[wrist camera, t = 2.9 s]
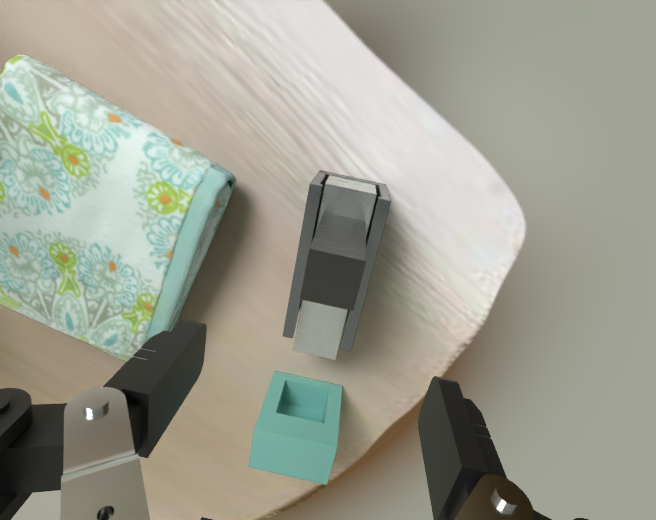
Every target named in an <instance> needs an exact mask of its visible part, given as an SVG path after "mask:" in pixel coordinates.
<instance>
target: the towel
mask: <svg viewBox="0 0 656 520" xmlns="http://www.w3.org/2000/svg"><path fill="white" fill-rule="evenodd" d="M235 182H236V179H235V177H234V175H233V174H232V173H230V172H228V171H226V170H225V169H223V168H221V167H220V166H219V165H218V164H217V163H215V162H213V161H212V160H210V159H209V158H207V157H206V156H205V155H203V154H201V153H199V152H197V151H196V150H194V149H192V148H191V147H189V146H187V145H185V144H183V143H182V142H180V141H178V140H177V139H175V138H173V137H171V136H170V135H168V134H166V133H164V132H163V131H161V130H159V129H158V128H156V127H154V126H152V125H151V124H149V123H147V122H145V121H143V120H141V119H139V118H138V117H136V116H134V115H133V114H131V113H129V112H127V111H125V110H124V109H122V108H120V107H118V106H117V105H115V104H113V103H111V102H110V101H108V100H106V99H104V98H102V97H101V96H99V95H97V94H96V93H94V92H92V91H91V90H89V89H87V88H86V87H84V86H82V85H80V84H79V83H77V82H75V81H73V80H72V79H70V78H69V77H67V76H65V75H64V74H62V73H61V72H59V71H57V70H55V69H54V68H52V67H50V66H48V65H46V64H45V63H42V62H40V61H38V60H36V59H34V58H32V57H29V56H27V55H17V56H15V57H13V58H11V59H9V60H8V61H7V62H6V64H5V67H4V70H3V72H2V73H1V74H0V304H2V305H4V306H6V307H8V308H10V309H12V310H14V311H16V312H18V313H21V314H23V315H25V316H27V317H30V318H32V319H34V320H36V321H39V322H41V323H43V324H45V325H47V326H49V327H51V328H53V329H55V330H58V331H60V332H62V333H65V334H67V335H69V336H71V337H74V338H76V339H79V340H81V341H83V342H85V343H87V344H89V345H91V346H94V347H95V348H97V349H99V350H101V351H104V352H106V353H108V354H110V355H112V356H115V357H116V358H118V359H121V360H123V361H126V362H127V361H128V360H129V359H130V358H131V357H133V355H134V354H135V353H136V352H137V351H138V350H139V349H141V347H142V346H143V345H144V344H145V343H146V341H147V340H148V339H149V338H150V337H152V336H154V335H156V334H158V333H160V332H162V331H164V330H165V331H170V332H172V330H173V328H174V326H175V324H176V322H177V320H178V318H179V315H180V313H181V310H182V308H183V306H184V303H185V301H186V299H187V296H188V294H189V291H190V289H191V287H192V284H193V282H194V280H195V278H196V276H197V274H198V272H199V269H200V267H201V265H202V262H203V260H204V258H205V256H206V254H207V252H208V249H209V247H210V245H211V242H212V240H213V237H214V235H215V233H216V231H217V229H218V226H219V224H220V221H221V219H222V217H223V214H224V212H225V209H226V207H227V204H228V202H229V200H230V197H231V194H232V190H233V187H234V185H235Z"/></svg>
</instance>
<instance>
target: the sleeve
mask: <svg viewBox="0 0 656 520" xmlns="http://www.w3.org/2000/svg"><path fill="white" fill-rule="evenodd" d="M329 175H331V176H336V177H340V178H345V179H350V180H354V181H359V182H363V183H368V184H373V185H375V187H376V193H377V195H376V199H375V203H374V207H373V211H372V215H371V219H370V223H369V227H368V231H367V235H366V264H365V268H364V272H363V276H362V280H361V284H360V288H359V292H358V296H357V299H356V303H355V307H354V311H351V310H348V312H347V316H346V324H345V331H344V335H343V339H342V343H341V349H343V350H348V351H351V349H352V345H353V341H354V338H355V334H356V330H357V326H358V323H359V319H360V315H361V311H362V308H363V304H364V300H365V296H366V293H367V289H368V285H369V281H370V278H371V274H372V270H373V266H374V263H375V259H376V255H377V251H378V247H379V244H380V240H381V236H382V232H383V229H384V225H385V221H386V217H387V214H388V210H389V206H390V202H391V200H390V197H389V194H388V190H387V187H386V184H381V183H376V182H372V181H367V180H363V179H358V178H353V177H349V176H344V175H339V174H335V173H330V172H325V171H321V170H320V171H319V172H318V174H317V175H316V176H315V178H314V179H313V180H312V182H311V183H310V186H309V192H308V197H307V203H306V208H305V214H304V220H303V225H302V231H301V236H300V242H299V248H298V253H297V259H296V264H295V270H294V276H293V281H292V287H291V292H290V298H289V303H288V309H287V315H286V320H285V326H284V331H283V336H284V337H289V338H293V336H294V332H295V327H296V322H297V316H298V312H299V309H300V306H301V305H302V300H301V299H300V295H301V290H302V284H303V279H304V274H305V269H306V263H307V258H308V253H309V248H310V246H311V243H312V241H313V238H314V236H315V233H316V228H317V223H318V218H319V212H320V207H321V202H322V197H323V192H324V187H325V183H326V181H327V179H328V177H329Z"/></svg>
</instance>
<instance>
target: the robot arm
mask: <svg viewBox="0 0 656 520" xmlns="http://www.w3.org/2000/svg"><path fill="white" fill-rule="evenodd" d="M206 330H207V328H206V324H202V323H198V322H193V321H189V320H183V321H181V323H180V324H179V325H178V326H177V327H176V328H175V329H174V330H173V332H170V331H165V330H164V331H162V332H160V333H158V334H156V335H154V336H152V337H150V338H149V339H148V340H147V341H146V343H145V344H144V345H143V346H142V347H141V349H139V350H138V351H137V352H136V353H135V354H134V355H133V357H131V358H130V359H129V360H128V361H127V362H126V363H125V364H124V365H123V366H122V367H121V369H120V370H119V371H118V372H117V373H116V374H115V375H114V376H113V377H112V378H111V379H110V380H109V381H108V382H107V383H106V384H105V385H104V386H103V387H98V388H93V389H89V390H86V391H84V392H82V393H80V394H78V395H76V396H75V397H74V398H72V399H71V400H70V401H69V402H68V403H64V404H40V405H32V403H31V397H30V395H29V394H28V393H27V392H26V391H24V390H21V389H16V388H4V389H0V520H11V519H12V517H13V516H14V515H15V514H16V512H17V511H18V510H19V508H20V507H21V506H22V505H23V504H24V502H25V501H26V500H27V499H28V497H29V496H30V495H31V494H32V493H33V492H43V491H53V490H61V517H60V520H150V517H149V511H148V505H147V500H146V494H145V488H144V482H143V477H142V471H141V465H140V460H139V456H140V457H145V458H148V457H149V455H150V453H151V452H152V450H153V449H154V447H155V446H156V444H157V442H158V441H159V439H160V438H161V436H162V434H163V433H164V431H165V430H166V428H167V427H168V425H169V423H170V422H171V420H172V419H173V417H174V415H175V414H176V412H177V411H178V409H179V407H180V406H181V404H182V403H183V401H184V400H185V398H186V396H187V395H188V393H189V392H190V390H191V388H192V387H193V385H194V384H195V382H196V381H197V379H198V377H199V375H200V373H201V370H202V367H203V362H204V353H205V341H206ZM418 429H419V435H420V441H421V447H422V452H423V458H424V464H425V471H426V476H427V482H428V488H429V494H430V500H431V505H432V512H433V517H434V520H551V519H549V518H547V517H546V516H543V515H541V514H540V513H538V512H536V511H535V510H533V507H532V505H531V502H530V501H529V499H528V497H527V496H526V495H525V493H524V492H523V491H522V490H521V489H520V488H519V487H518V486H517V485H516V484H514V483H513V482H511V481H510V480H508V479H507V477H506V475H505V472H504V470H503V467H502V464H501V462H500V459H499V457H498V454H497V451H496V449H495V447H494V444H493V441H492V439H490V437H491V436H490V434H489V431H488V429H487V428H486V423H485V421H484V418H483V416H482V413H481V412H480V410H479V409H478V408H477V407H476V405H475V404H474V403H473V402H472V401H471V400H470V399H466V398H463V395H462V393H461V389H460V386H459V384H458V382H457V381H454V380H450V379H446V378H441V377H437V376H434V377H433V379H432V380H431V383H430V386H429V388H428V391H427V393H426V396H425V399H424V401H423V404H422V407H421V409H420V413H419V419H418ZM201 520H212V519H207V518H203V517H202V518H201ZM574 520H588V519H584V518H576V519H574Z"/></svg>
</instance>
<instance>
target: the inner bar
mask: <svg viewBox="0 0 656 520" xmlns="http://www.w3.org/2000/svg"><path fill="white" fill-rule="evenodd" d="M376 195H377V193H376V187H375V185H373V184H368V183H363V182H359V181H354V180H350V179H345V178H340V177H336V176H331V175H329V177H328V179H327V181H326V183H325V187H324V192H323V197H322V202H321V207H320V212H319V218H318V223H317V228H316V233H315V236H314V238H313V241H312V243H311V246H310V248H309V253H308V258H307V263H306V269H305V274H304V279H303V284H302V290H301V295H300V299H301V300H302V305H301V310H300V315H299V320H298V326H297V331H296V336H295V341H294V346H293V351H297V352H301V353H306V354H310V355H315V356H319V357H324V358H328V359H333V360H336V356H337V352H338V348H339V344H340V340H341V336H342V332H343V328H344V324H345V320H346V316H347V312H348V310H351V311H354V307H355V303H356V299H357V296H358V292H359V288H360V284H361V280H362V276H363V272H364V268H365V264H366V235H367V231H368V227H369V223H370V219H371V215H372V211H373V207H374V203H375V199H376Z"/></svg>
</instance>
